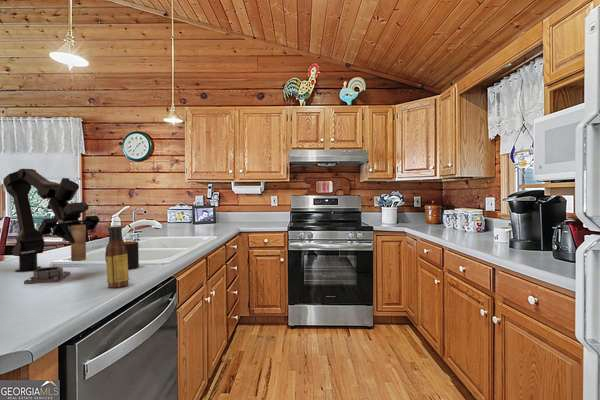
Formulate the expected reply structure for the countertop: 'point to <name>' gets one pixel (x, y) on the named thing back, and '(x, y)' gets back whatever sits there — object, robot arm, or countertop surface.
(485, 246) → the countertop surface
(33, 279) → the bracket
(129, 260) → the mug
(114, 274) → the sauce bottle
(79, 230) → the brown round cylinder
